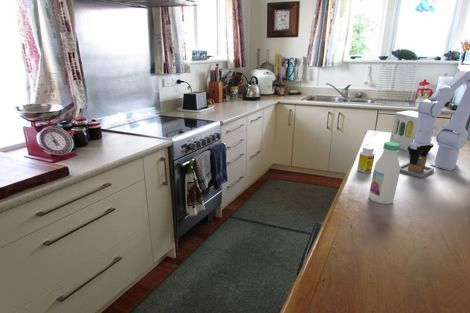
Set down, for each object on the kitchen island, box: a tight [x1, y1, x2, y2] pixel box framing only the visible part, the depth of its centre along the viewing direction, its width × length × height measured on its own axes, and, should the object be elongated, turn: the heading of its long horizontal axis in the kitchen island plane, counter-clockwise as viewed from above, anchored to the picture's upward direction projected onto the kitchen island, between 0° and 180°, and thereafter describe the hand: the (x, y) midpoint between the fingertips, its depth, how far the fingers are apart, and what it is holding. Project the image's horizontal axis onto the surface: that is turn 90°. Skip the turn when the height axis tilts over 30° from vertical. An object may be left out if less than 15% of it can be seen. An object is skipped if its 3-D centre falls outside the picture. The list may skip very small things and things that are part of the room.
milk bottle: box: [368, 141, 401, 205], centre depth 104 cm, size 8×8×20 cm
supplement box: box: [389, 110, 419, 152], centre depth 161 cm, size 13×13×18 cm
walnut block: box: [408, 156, 428, 173], centre depth 131 cm, size 4×4×6 cm
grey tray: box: [400, 161, 435, 180], centre depth 132 cm, size 12×10×2 cm
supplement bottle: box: [356, 145, 376, 174], centre depth 130 cm, size 6×6×10 cm
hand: (417, 162), depth 131 cm, fingers open, 7 cm apart
